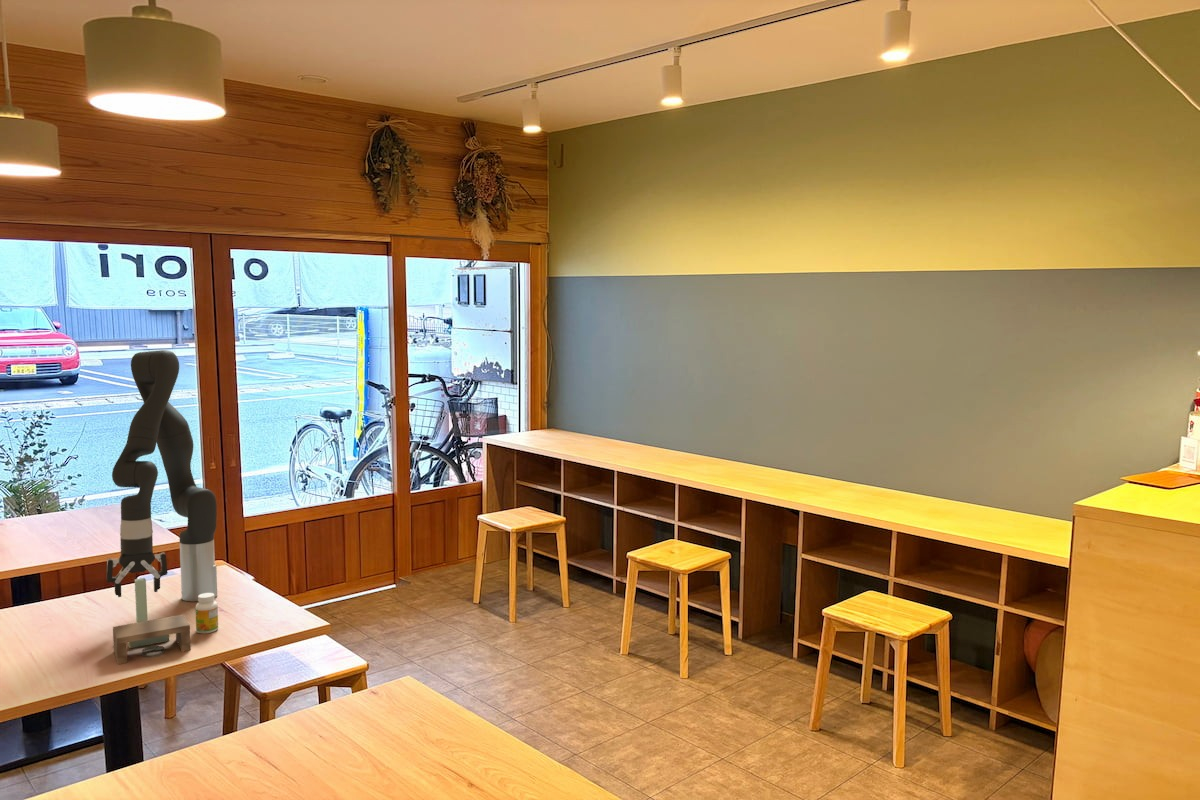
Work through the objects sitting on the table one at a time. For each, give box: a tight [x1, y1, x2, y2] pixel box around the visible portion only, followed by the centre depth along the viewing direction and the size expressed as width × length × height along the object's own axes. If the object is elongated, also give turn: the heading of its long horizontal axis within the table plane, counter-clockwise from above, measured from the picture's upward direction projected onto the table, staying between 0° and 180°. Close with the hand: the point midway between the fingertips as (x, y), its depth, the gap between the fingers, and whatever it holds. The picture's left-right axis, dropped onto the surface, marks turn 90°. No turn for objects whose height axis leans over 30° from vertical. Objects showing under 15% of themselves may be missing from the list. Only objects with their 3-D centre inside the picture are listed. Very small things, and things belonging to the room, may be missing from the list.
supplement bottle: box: [195, 593, 219, 634], centre depth 222 cm, size 5×5×10 cm
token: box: [141, 645, 166, 658], centre depth 207 cm, size 5×5×1 cm
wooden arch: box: [112, 614, 192, 665], centre depth 208 cm, size 16×9×6 cm, turn 125°
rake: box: [128, 577, 170, 649], centre depth 218 cm, size 9×16×13 cm, turn 35°
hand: (137, 593), depth 223 cm, fingers open, 8 cm apart
